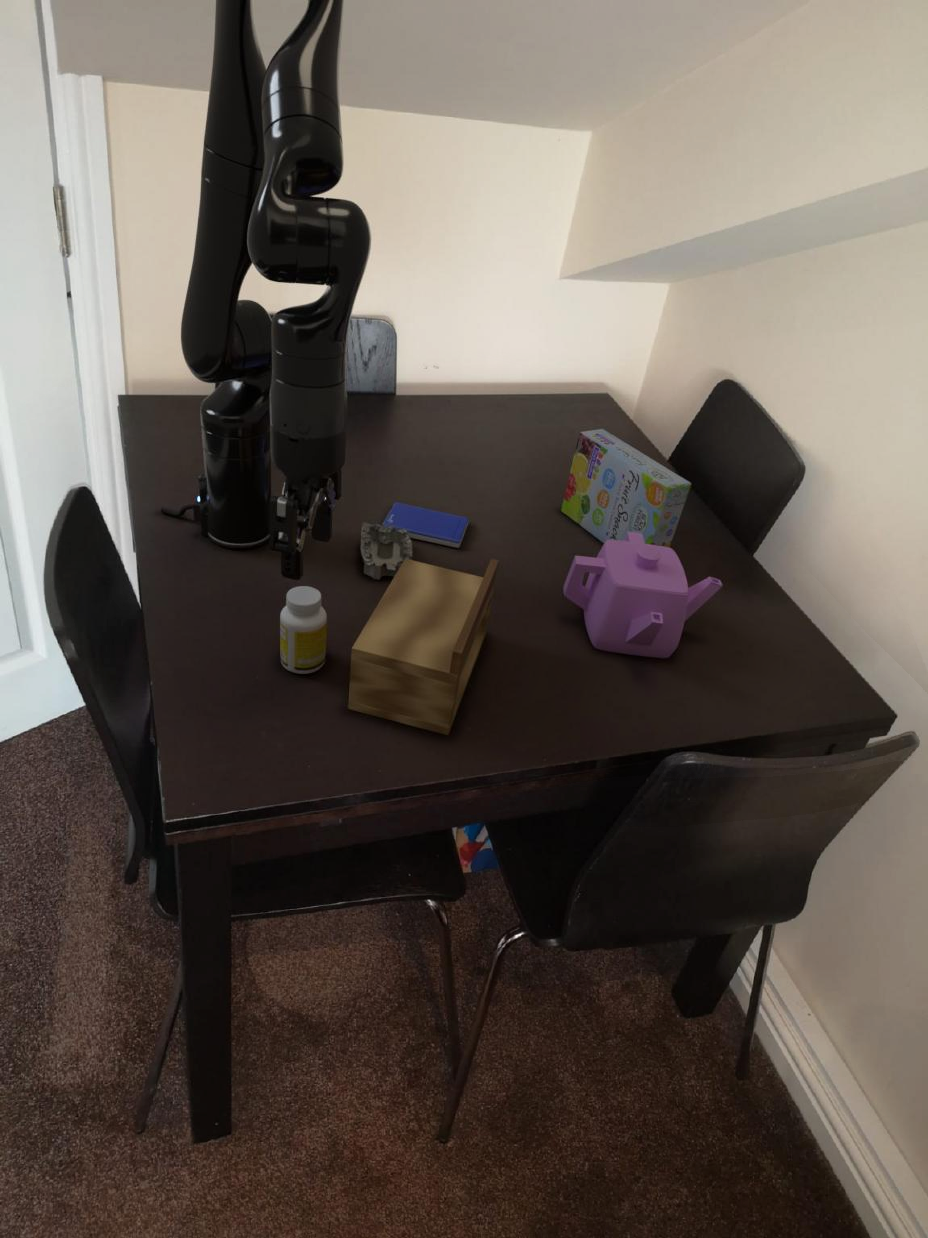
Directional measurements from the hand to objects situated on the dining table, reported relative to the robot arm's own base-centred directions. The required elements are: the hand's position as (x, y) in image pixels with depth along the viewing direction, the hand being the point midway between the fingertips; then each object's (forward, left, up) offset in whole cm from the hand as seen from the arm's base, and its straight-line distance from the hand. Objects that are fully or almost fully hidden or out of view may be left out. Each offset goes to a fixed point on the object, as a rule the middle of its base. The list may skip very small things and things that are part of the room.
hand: (307, 557), depth 89 cm
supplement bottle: (0, 0, -15) cm, 15 cm away
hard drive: (+5, +38, -15) cm, 41 cm away
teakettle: (+39, +24, -15) cm, 48 cm away
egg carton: (+2, +26, -15) cm, 30 cm away
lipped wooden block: (+14, +4, -15) cm, 21 cm away
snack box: (+34, +49, -15) cm, 61 cm away
